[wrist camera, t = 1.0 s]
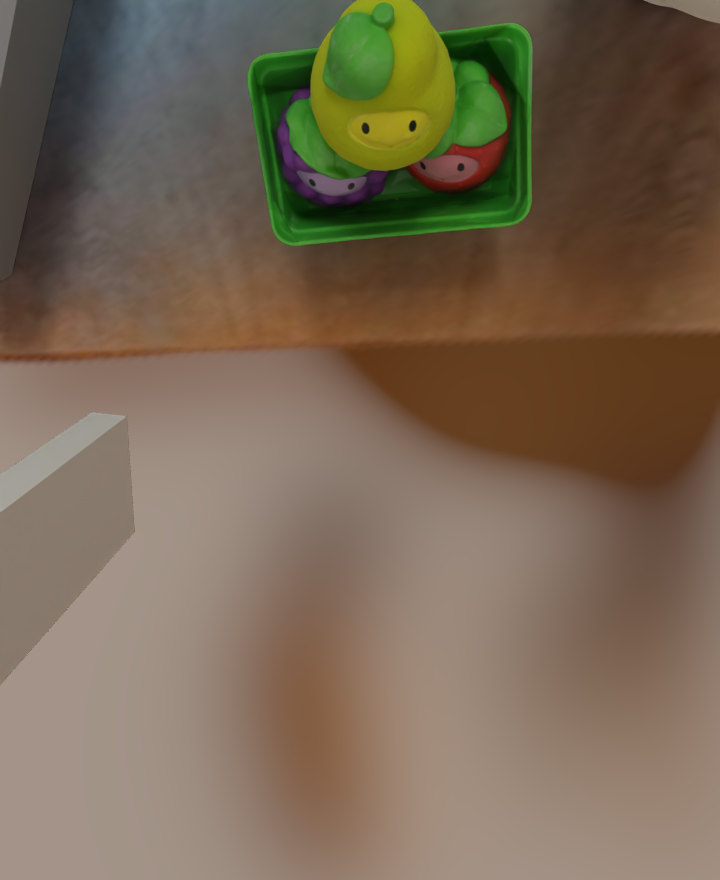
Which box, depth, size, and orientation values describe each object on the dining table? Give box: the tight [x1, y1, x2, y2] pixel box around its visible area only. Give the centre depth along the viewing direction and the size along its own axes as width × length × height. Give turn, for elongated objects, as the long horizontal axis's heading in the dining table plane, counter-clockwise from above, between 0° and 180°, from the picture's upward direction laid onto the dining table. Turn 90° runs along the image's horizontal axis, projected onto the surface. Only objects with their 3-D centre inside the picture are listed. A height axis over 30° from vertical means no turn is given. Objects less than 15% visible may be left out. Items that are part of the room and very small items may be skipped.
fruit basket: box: [247, 0, 533, 246], centre depth 28 cm, size 11×9×11 cm
